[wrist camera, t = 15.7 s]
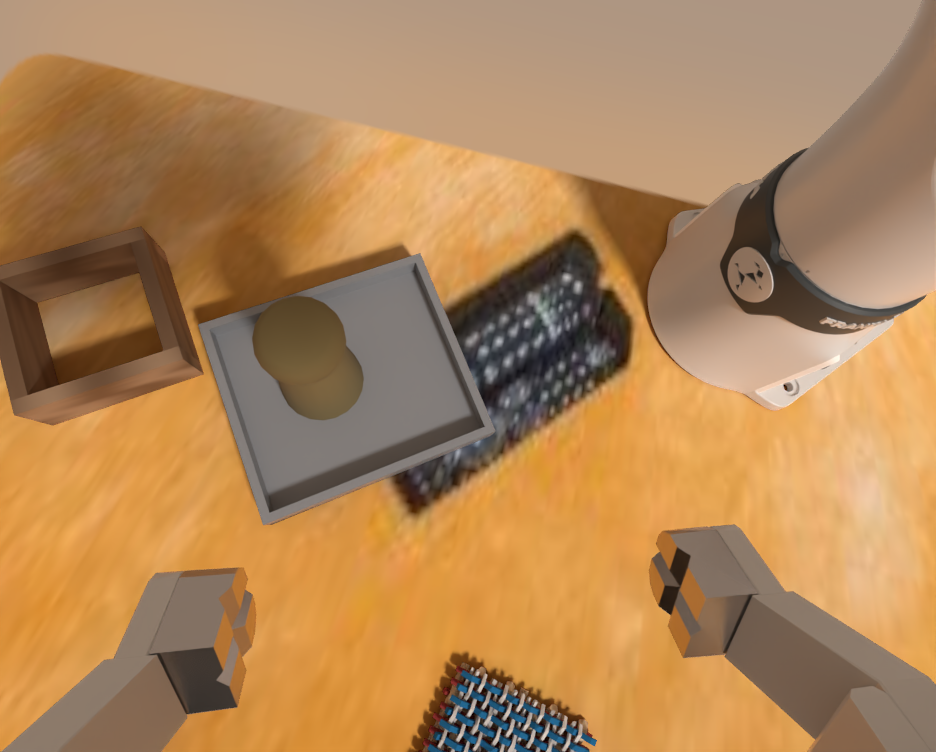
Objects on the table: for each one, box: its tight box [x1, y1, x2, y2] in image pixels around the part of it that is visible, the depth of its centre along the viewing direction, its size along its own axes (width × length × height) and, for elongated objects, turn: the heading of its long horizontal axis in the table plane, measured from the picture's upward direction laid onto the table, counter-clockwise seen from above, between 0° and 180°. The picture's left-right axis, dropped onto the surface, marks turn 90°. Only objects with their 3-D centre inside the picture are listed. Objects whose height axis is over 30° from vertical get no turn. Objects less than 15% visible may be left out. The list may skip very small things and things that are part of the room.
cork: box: [252, 296, 364, 420], centre depth 35 cm, size 6×6×11 cm
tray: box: [198, 253, 495, 525], centre depth 40 cm, size 17×15×2 cm
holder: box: [0, 227, 203, 425], centre depth 39 cm, size 10×10×4 cm
